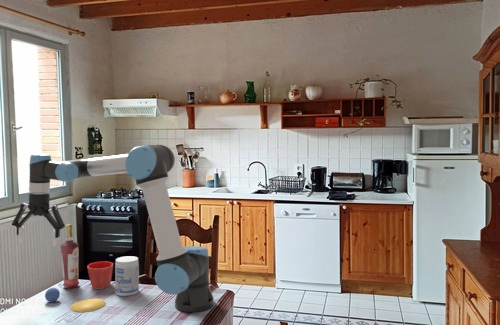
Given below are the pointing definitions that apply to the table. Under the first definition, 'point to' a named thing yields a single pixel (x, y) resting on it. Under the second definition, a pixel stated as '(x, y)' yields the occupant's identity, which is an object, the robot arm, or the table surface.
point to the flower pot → (100, 274)
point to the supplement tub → (127, 275)
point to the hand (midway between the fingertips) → (38, 244)
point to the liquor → (70, 260)
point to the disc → (88, 305)
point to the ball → (52, 294)
